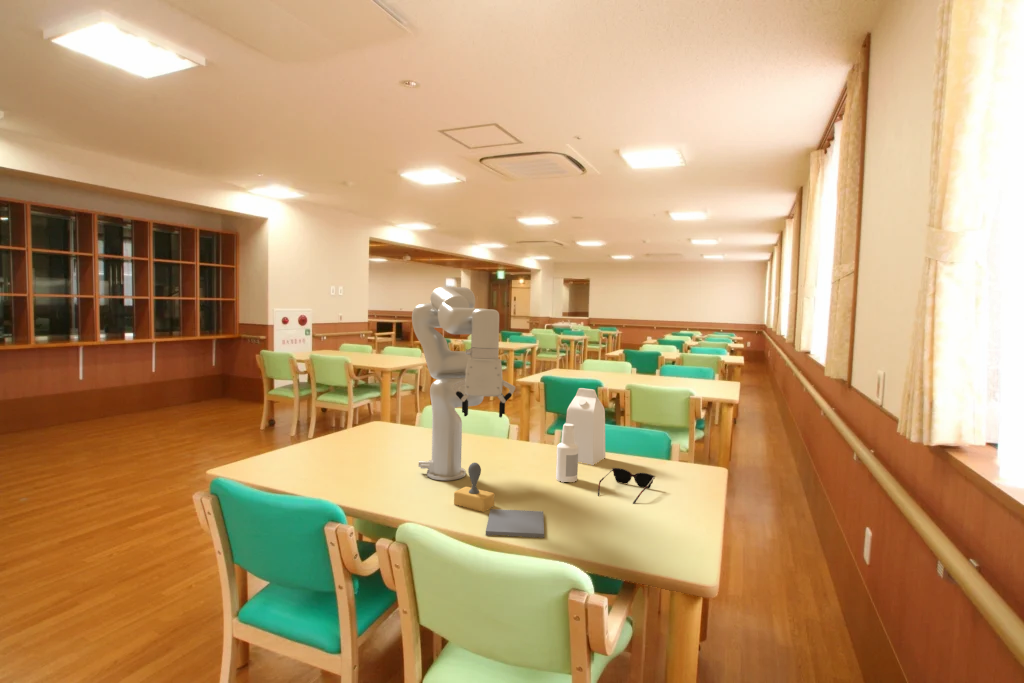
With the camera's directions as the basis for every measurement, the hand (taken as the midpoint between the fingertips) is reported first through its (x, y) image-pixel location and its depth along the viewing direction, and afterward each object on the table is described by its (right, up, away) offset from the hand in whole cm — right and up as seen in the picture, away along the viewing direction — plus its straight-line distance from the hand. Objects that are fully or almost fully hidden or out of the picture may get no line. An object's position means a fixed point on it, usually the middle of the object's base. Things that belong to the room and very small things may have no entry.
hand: (483, 416), depth 144 cm
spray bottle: (+25, -24, +24) cm, 43 cm away
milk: (+35, -23, +49) cm, 64 cm away
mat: (+9, -26, -12) cm, 30 cm away
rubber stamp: (-3, -25, 0) cm, 25 cm away
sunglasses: (+42, -26, +14) cm, 51 cm away
